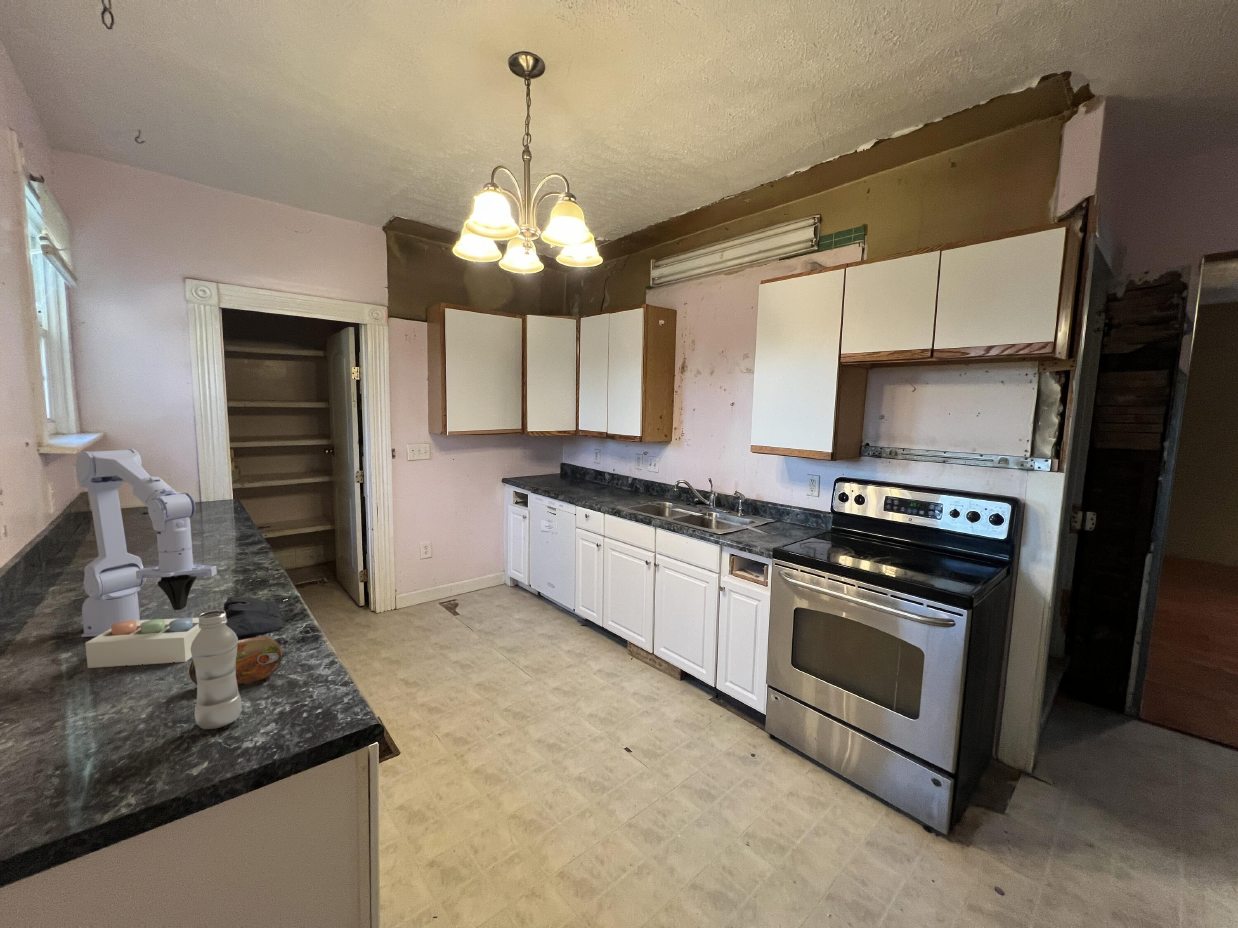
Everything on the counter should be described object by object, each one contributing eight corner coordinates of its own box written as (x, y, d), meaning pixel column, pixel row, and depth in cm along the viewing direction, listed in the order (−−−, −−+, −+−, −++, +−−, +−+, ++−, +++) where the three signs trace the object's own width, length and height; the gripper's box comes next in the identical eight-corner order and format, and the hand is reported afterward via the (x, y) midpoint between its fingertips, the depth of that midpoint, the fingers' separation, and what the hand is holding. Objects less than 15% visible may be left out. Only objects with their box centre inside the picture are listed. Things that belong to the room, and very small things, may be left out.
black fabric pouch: (210, 648, 120) (208, 628, 119) (206, 617, 137) (205, 599, 136) (288, 631, 130) (287, 612, 129) (276, 603, 146) (275, 587, 146)
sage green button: (136, 639, 113) (135, 626, 113) (149, 631, 117) (148, 619, 117) (157, 638, 114) (156, 625, 114) (169, 630, 118) (168, 618, 118)
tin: (190, 693, 101) (186, 652, 100) (194, 685, 104) (191, 645, 103) (282, 676, 108) (280, 637, 107) (283, 669, 110) (281, 631, 109)
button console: (87, 667, 109) (85, 642, 109) (126, 644, 120) (124, 621, 119) (185, 661, 113) (183, 637, 112) (214, 639, 123) (213, 616, 123)
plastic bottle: (211, 712, 95) (204, 607, 92) (251, 711, 95) (244, 606, 93) (185, 735, 88) (176, 622, 86) (228, 734, 89) (220, 621, 87)
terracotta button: (107, 640, 112) (106, 628, 112) (121, 632, 116) (120, 620, 116) (128, 639, 113) (127, 627, 113) (141, 631, 117) (140, 619, 117)
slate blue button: (165, 637, 114) (164, 625, 114) (177, 629, 118) (176, 617, 118) (186, 636, 115) (185, 624, 115) (197, 628, 119) (196, 616, 119)
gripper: (123, 555, 109) (129, 617, 111) (201, 552, 112) (206, 613, 114) (146, 546, 116) (151, 604, 118) (220, 544, 119) (224, 601, 120)
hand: (179, 608), depth 116 cm, fingers closed
